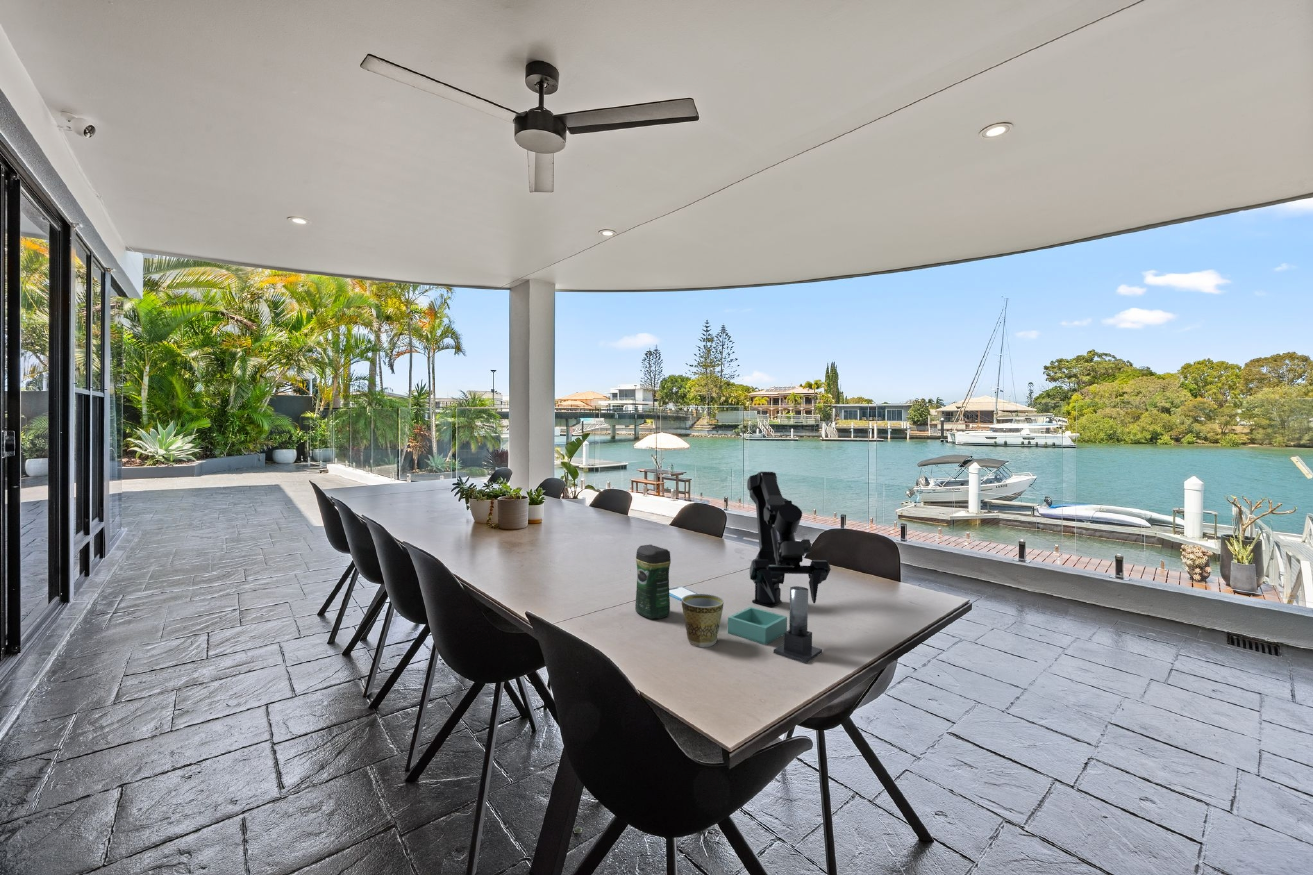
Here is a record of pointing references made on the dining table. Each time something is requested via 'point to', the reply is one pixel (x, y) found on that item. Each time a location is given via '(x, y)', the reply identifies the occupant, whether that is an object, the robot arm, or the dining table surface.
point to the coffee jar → (652, 581)
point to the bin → (757, 625)
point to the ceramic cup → (702, 618)
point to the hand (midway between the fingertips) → (794, 602)
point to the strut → (798, 623)
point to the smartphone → (680, 592)
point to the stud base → (797, 657)
